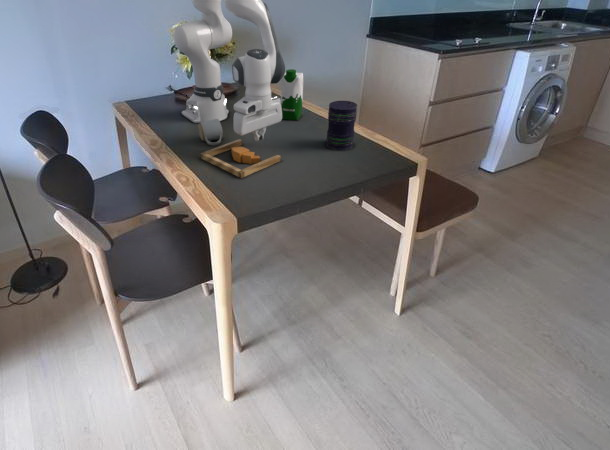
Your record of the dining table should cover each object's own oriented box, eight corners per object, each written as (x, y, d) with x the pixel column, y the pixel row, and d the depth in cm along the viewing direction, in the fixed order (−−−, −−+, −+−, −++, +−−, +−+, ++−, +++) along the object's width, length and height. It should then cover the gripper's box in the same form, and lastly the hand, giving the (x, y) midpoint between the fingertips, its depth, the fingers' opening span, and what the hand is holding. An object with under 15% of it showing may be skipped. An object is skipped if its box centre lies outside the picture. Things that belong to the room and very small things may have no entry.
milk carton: (279, 119, 178) (278, 71, 166) (284, 112, 185) (285, 66, 173) (298, 121, 175) (300, 72, 164) (303, 114, 182) (305, 67, 171)
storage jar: (336, 152, 148) (340, 111, 139) (320, 143, 155) (323, 103, 147) (359, 146, 151) (363, 106, 143) (342, 137, 158) (345, 98, 150)
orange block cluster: (224, 155, 148) (223, 146, 146) (236, 150, 152) (236, 141, 150) (250, 167, 140) (249, 157, 138) (262, 162, 143) (262, 152, 141)
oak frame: (201, 158, 147) (200, 153, 146) (239, 144, 157) (239, 138, 156) (241, 178, 133) (240, 172, 132) (280, 161, 143) (280, 155, 142)
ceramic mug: (198, 137, 163) (196, 119, 159) (218, 134, 165) (216, 115, 161) (205, 148, 155) (203, 128, 151) (226, 144, 157) (225, 125, 153)
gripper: (274, 92, 148) (273, 129, 156) (229, 106, 137) (231, 145, 145) (286, 96, 144) (285, 134, 152) (241, 110, 133) (243, 150, 141)
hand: (259, 139), depth 148 cm, fingers closed
